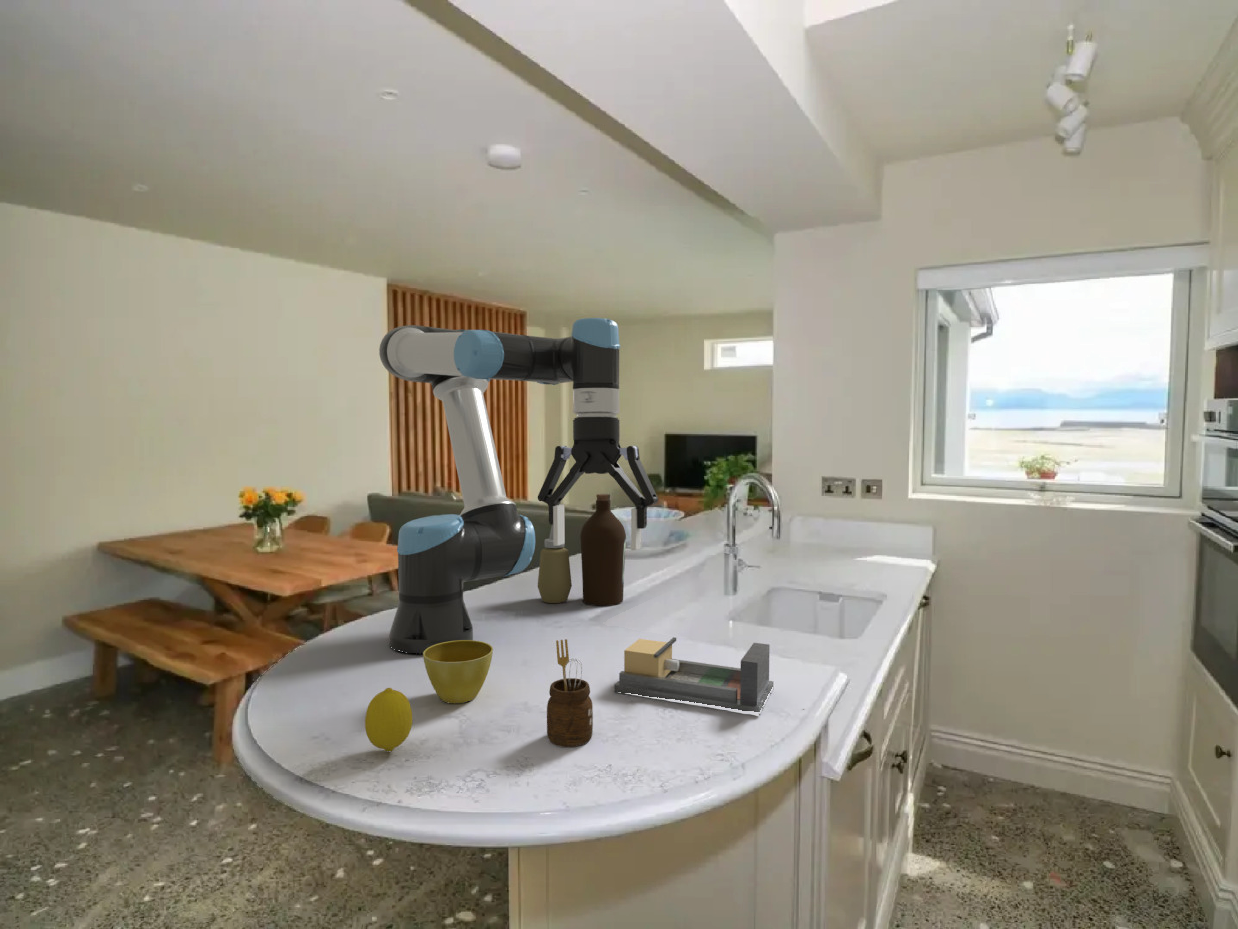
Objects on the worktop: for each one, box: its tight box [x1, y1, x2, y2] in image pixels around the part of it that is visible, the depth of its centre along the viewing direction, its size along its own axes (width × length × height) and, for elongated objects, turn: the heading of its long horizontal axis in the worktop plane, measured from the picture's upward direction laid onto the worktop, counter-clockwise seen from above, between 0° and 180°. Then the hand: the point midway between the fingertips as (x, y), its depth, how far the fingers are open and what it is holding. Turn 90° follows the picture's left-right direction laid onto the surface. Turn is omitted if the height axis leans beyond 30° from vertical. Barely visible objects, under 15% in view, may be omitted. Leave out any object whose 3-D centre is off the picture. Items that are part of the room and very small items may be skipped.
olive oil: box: [579, 493, 627, 607], centre depth 159 cm, size 11×11×25 cm
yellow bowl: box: [422, 639, 494, 704], centre depth 101 cm, size 10×10×7 cm
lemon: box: [364, 687, 413, 752], centre depth 84 cm, size 6×6×8 cm
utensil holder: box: [546, 638, 594, 748], centre depth 88 cm, size 6×6×12 cm
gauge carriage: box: [623, 637, 679, 677], centre depth 107 cm, size 8×9×5 cm
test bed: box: [613, 642, 774, 712], centre depth 104 cm, size 22×11×7 cm, turn 67°
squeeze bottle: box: [537, 525, 573, 604], centre depth 159 cm, size 8×8×18 cm
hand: (596, 546), depth 111 cm, fingers open, 13 cm apart
